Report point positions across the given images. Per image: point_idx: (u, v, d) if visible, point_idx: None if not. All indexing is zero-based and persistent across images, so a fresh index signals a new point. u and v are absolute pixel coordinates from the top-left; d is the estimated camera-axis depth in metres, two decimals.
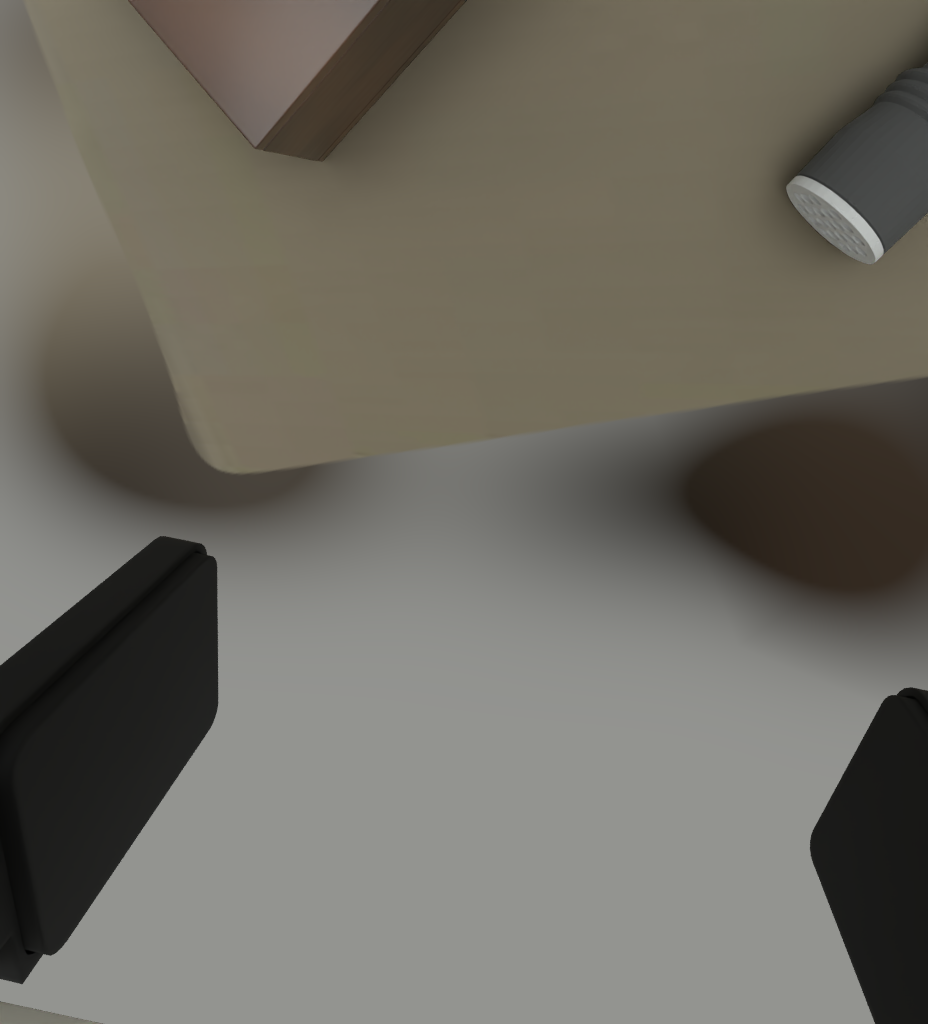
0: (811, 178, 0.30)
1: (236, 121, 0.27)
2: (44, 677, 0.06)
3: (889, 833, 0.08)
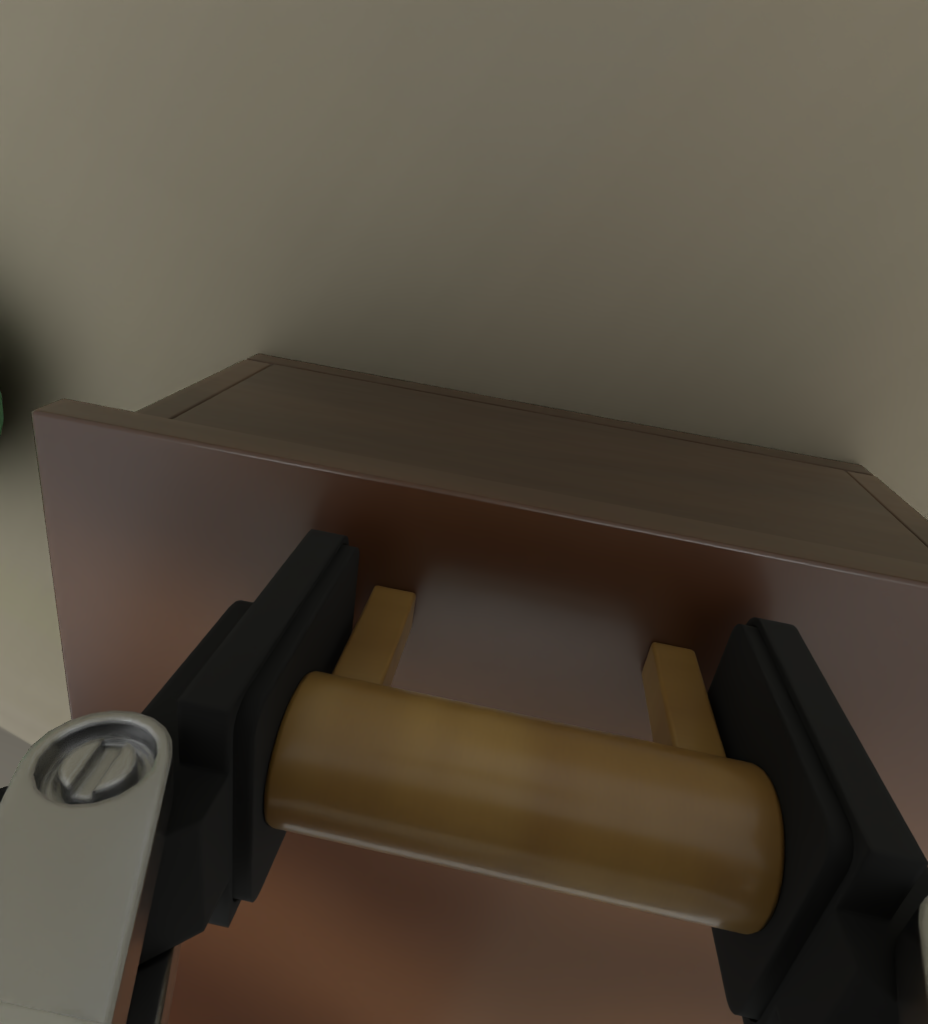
0: None
1: None
2: (262, 651, 0.07)
3: (727, 743, 0.09)
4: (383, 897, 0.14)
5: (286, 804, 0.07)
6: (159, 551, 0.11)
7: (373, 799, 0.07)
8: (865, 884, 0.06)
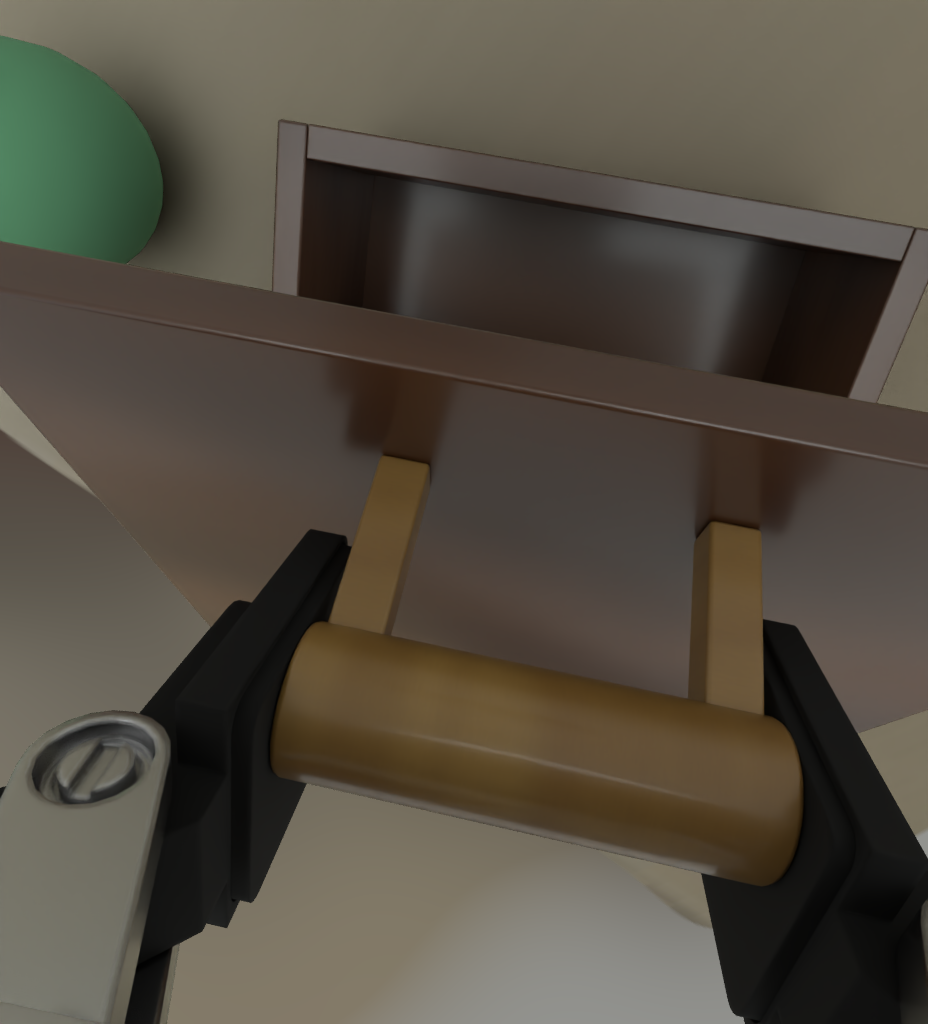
0: None
1: None
2: (260, 651, 0.07)
3: None
4: (438, 639, 0.16)
5: (294, 779, 0.07)
6: (130, 411, 0.10)
7: (375, 786, 0.07)
8: (867, 885, 0.06)
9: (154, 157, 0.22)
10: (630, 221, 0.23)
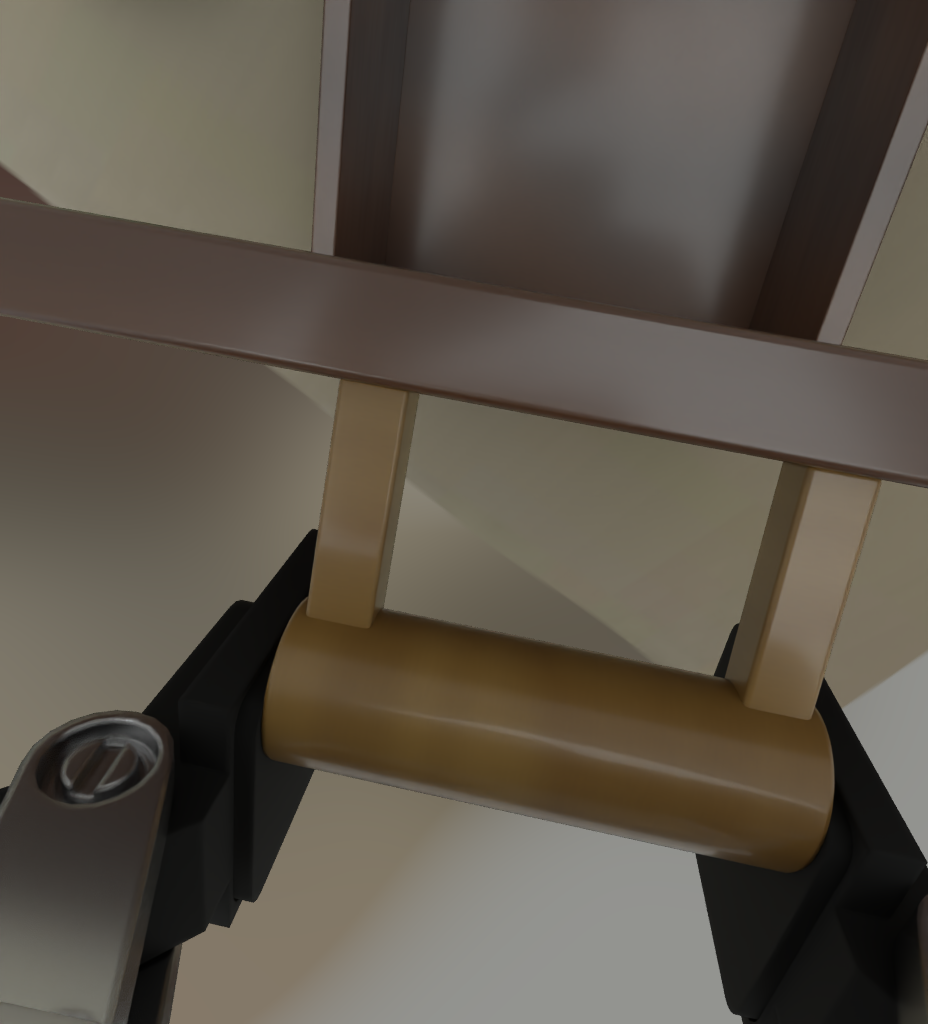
0: None
1: None
2: (263, 651, 0.07)
3: None
4: None
5: None
6: None
7: None
8: (864, 884, 0.06)
9: None
10: None
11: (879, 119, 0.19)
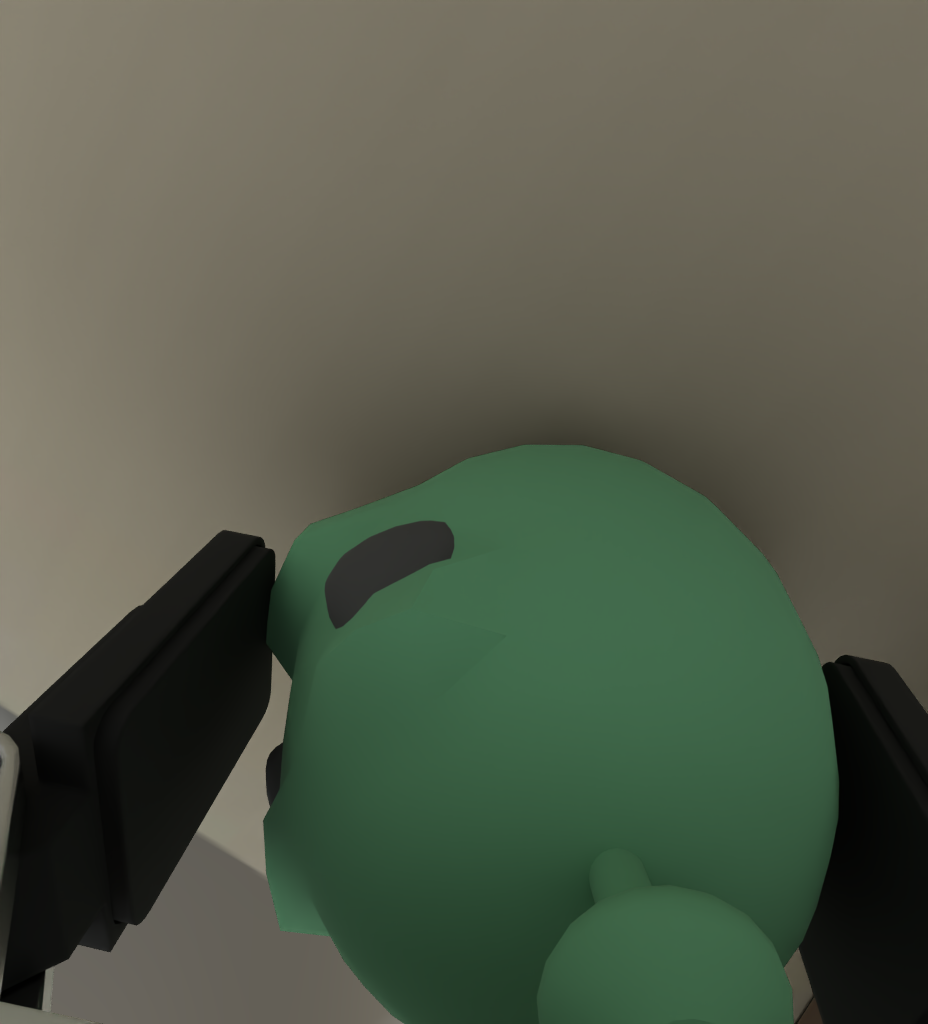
0: None
1: None
2: (136, 660, 0.07)
3: None
4: None
5: None
6: None
7: None
8: None
9: None
10: None
11: None
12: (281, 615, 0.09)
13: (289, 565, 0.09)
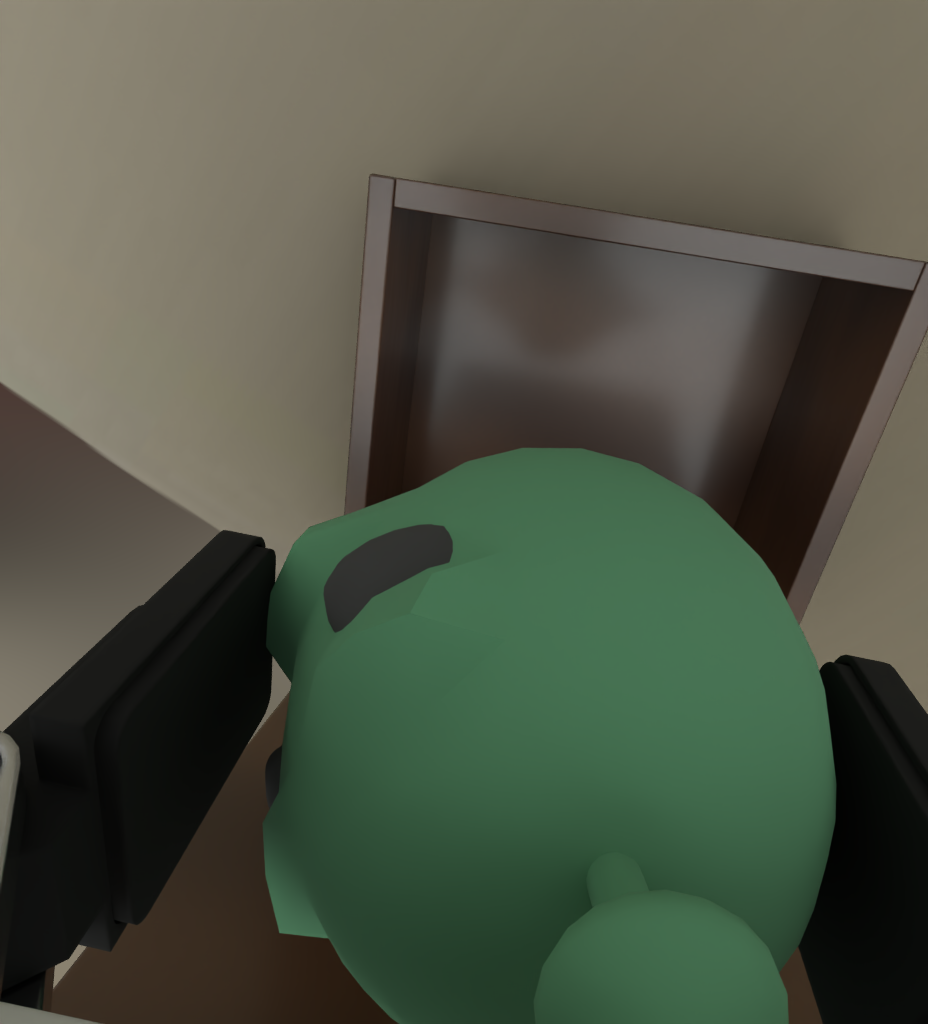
0: None
1: None
2: (137, 661, 0.07)
3: None
4: None
5: None
6: None
7: None
8: None
9: None
10: None
11: (810, 494, 0.23)
12: (281, 617, 0.09)
13: (288, 568, 0.09)
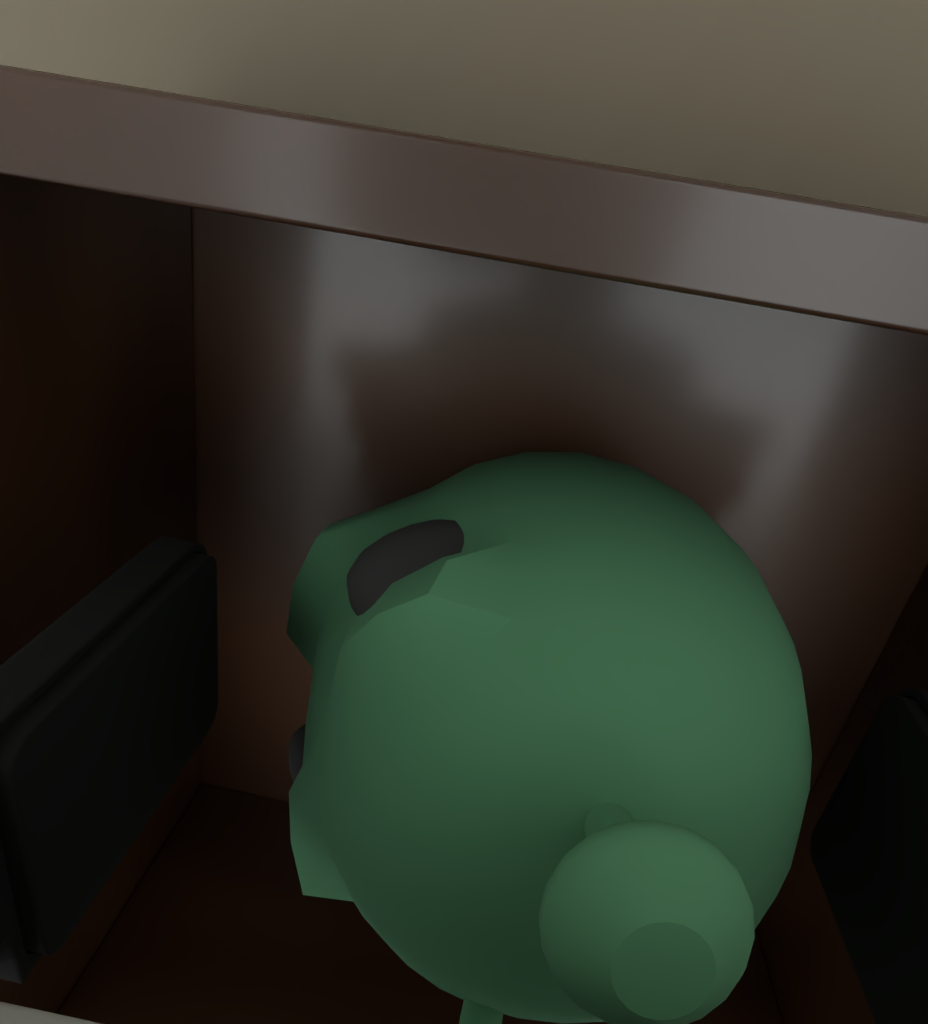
0: None
1: None
2: (44, 677, 0.06)
3: (889, 833, 0.08)
4: None
5: None
6: None
7: None
8: None
9: None
10: None
11: None
12: (303, 607, 0.10)
13: (310, 562, 0.10)
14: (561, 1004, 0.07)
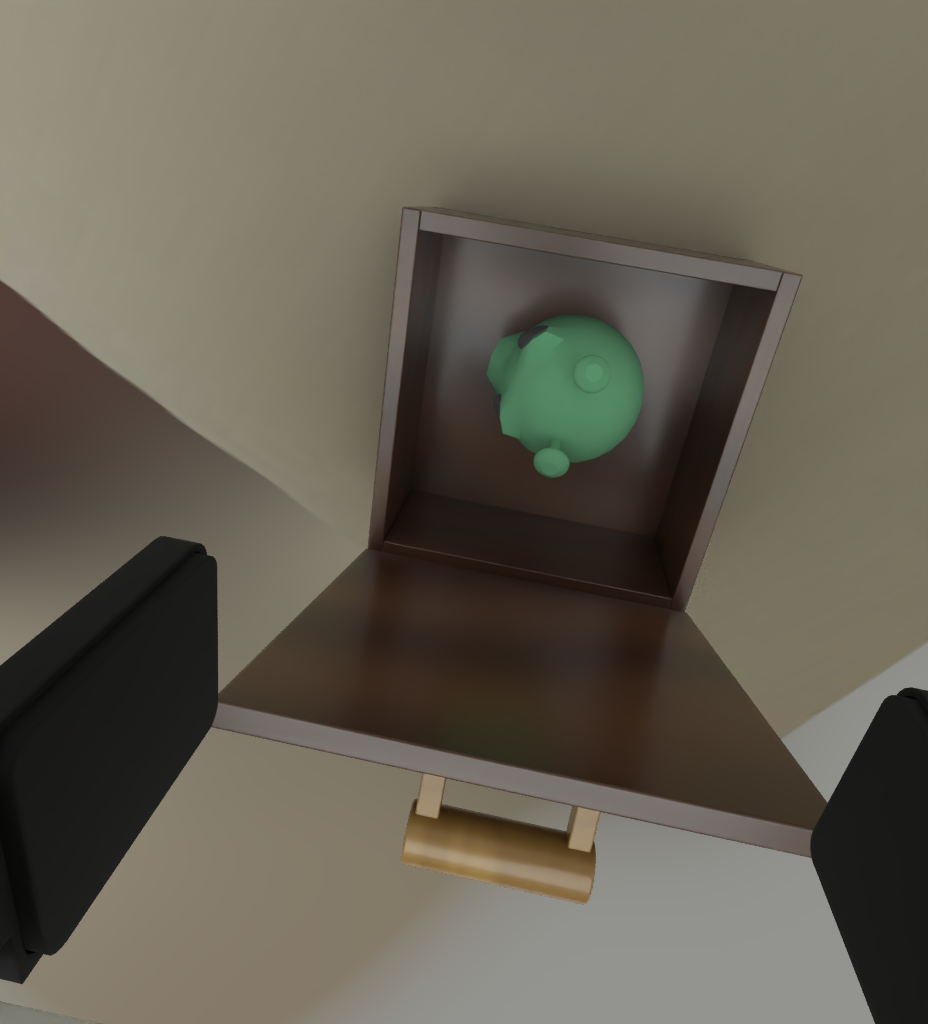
0: None
1: None
2: (43, 677, 0.06)
3: (889, 833, 0.08)
4: None
5: None
6: None
7: None
8: None
9: None
10: None
11: (717, 438, 0.31)
12: (495, 362, 0.33)
13: (497, 347, 0.32)
14: (576, 430, 0.29)
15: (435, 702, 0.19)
